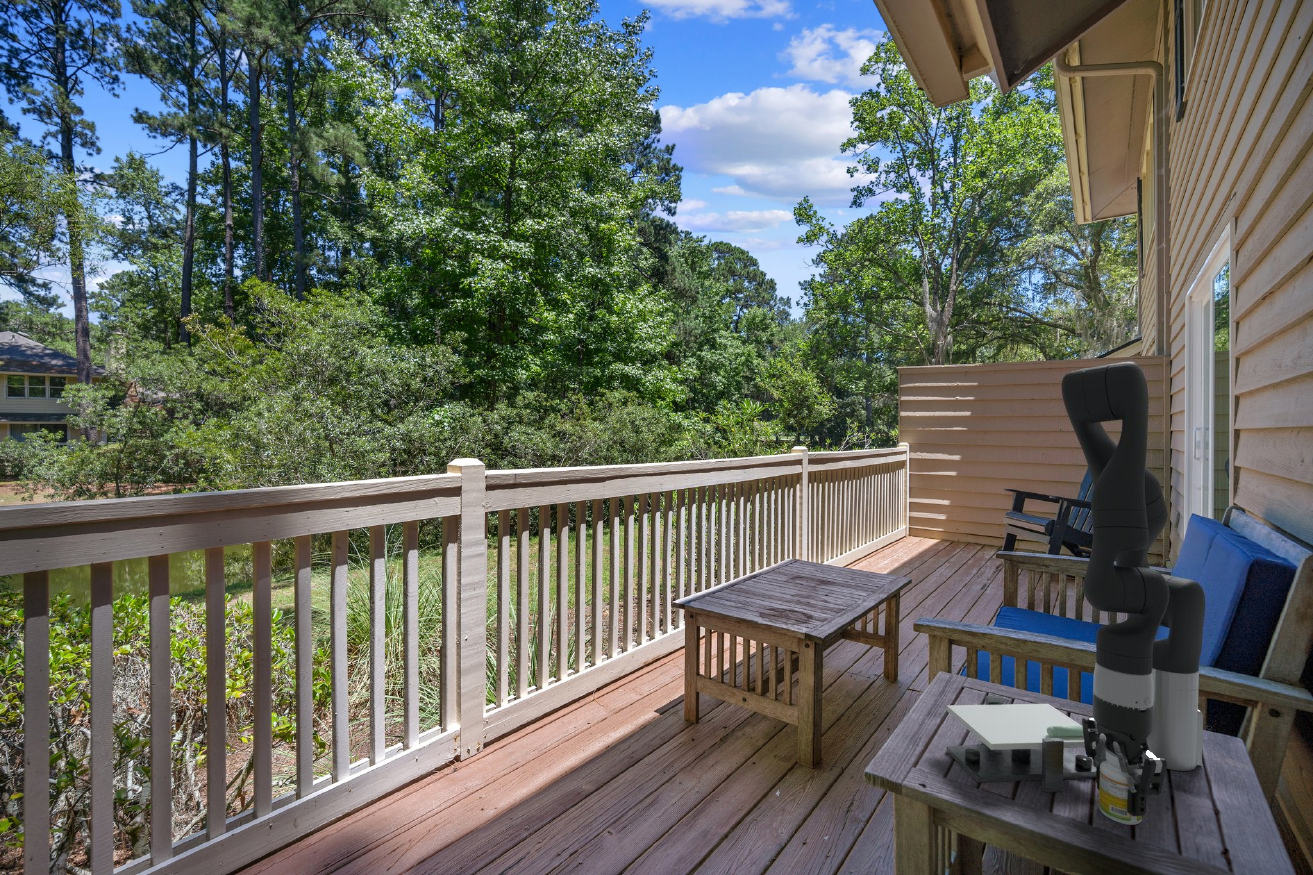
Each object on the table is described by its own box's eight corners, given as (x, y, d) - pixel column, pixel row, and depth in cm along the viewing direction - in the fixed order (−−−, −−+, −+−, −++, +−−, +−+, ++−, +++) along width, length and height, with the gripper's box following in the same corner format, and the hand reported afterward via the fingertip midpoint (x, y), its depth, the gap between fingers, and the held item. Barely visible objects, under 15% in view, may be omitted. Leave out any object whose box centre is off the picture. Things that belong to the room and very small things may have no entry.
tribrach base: (1046, 737, 122) (1047, 693, 122) (1117, 788, 105) (1118, 738, 105) (936, 741, 121) (937, 697, 121) (990, 794, 104) (991, 743, 104)
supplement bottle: (1123, 803, 101) (1125, 744, 101) (1150, 825, 96) (1152, 762, 96) (1090, 804, 101) (1092, 744, 101) (1116, 826, 96) (1117, 763, 96)
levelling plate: (1047, 708, 121) (1048, 694, 121) (1105, 746, 107) (1105, 731, 107) (946, 710, 119) (947, 696, 119) (991, 749, 105) (991, 733, 105)
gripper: (1066, 676, 105) (1064, 777, 105) (1138, 717, 91) (1135, 834, 91) (1109, 675, 105) (1106, 775, 106) (1187, 716, 91) (1184, 831, 92)
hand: (1120, 802), depth 99 cm, fingers closed on supplement bottle, 5 cm apart
